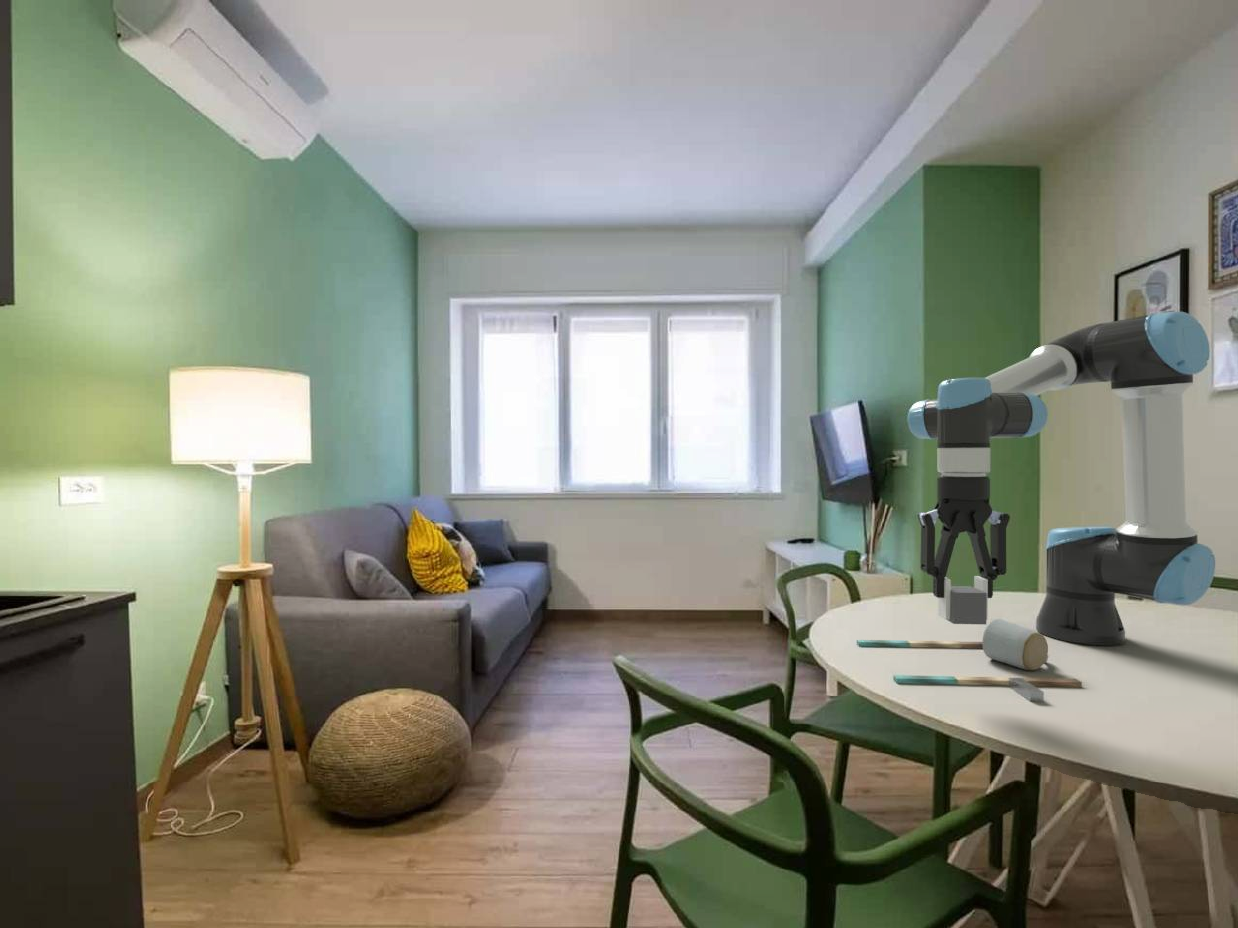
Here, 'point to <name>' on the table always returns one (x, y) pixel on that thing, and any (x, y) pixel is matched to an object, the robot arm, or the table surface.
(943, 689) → the table surface
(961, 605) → the block
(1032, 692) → the bar
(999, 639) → the ceramic mug
